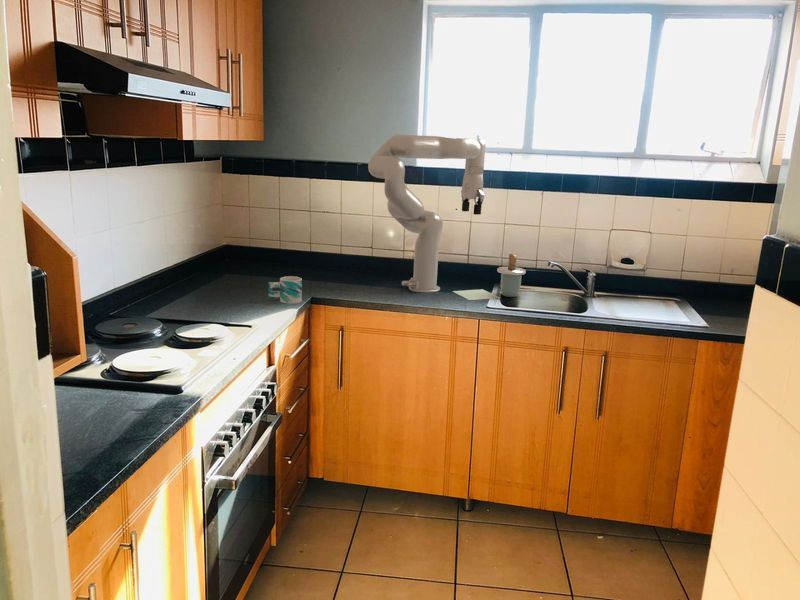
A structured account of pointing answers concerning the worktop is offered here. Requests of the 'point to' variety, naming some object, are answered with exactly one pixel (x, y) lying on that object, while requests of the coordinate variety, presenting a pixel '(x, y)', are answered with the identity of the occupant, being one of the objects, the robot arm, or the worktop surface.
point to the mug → (287, 289)
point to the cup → (510, 285)
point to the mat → (476, 294)
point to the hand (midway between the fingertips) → (471, 212)
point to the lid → (511, 267)
